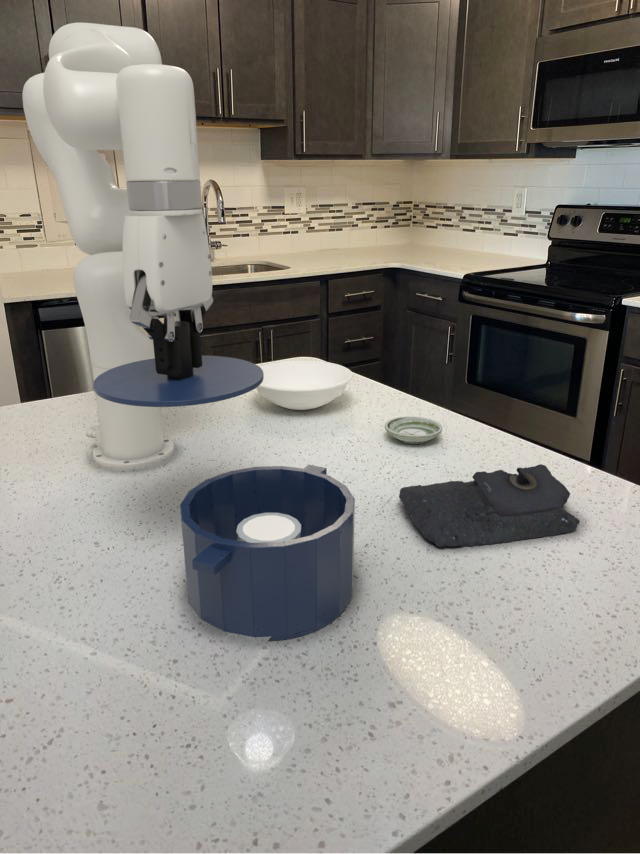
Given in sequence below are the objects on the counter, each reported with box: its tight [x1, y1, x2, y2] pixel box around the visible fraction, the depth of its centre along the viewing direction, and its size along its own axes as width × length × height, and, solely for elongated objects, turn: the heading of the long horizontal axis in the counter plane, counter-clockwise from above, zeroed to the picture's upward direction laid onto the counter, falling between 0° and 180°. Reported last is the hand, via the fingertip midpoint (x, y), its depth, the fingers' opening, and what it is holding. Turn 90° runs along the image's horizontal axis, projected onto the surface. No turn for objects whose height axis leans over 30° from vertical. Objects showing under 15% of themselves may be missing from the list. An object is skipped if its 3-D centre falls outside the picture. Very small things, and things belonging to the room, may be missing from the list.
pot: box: [179, 464, 356, 642], centre depth 70 cm, size 18×23×10 cm
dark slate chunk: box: [398, 464, 581, 548], centre depth 87 cm, size 15×22×5 cm
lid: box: [92, 320, 264, 408], centre depth 75 cm, size 19×19×7 cm
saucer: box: [384, 415, 443, 445], centre depth 112 cm, size 10×10×2 cm
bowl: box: [255, 359, 354, 411], centre depth 128 cm, size 20×20×6 cm
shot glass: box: [236, 513, 301, 543], centre depth 71 cm, size 7×7×7 cm
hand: (179, 368), depth 76 cm, fingers closed on lid, 3 cm apart
